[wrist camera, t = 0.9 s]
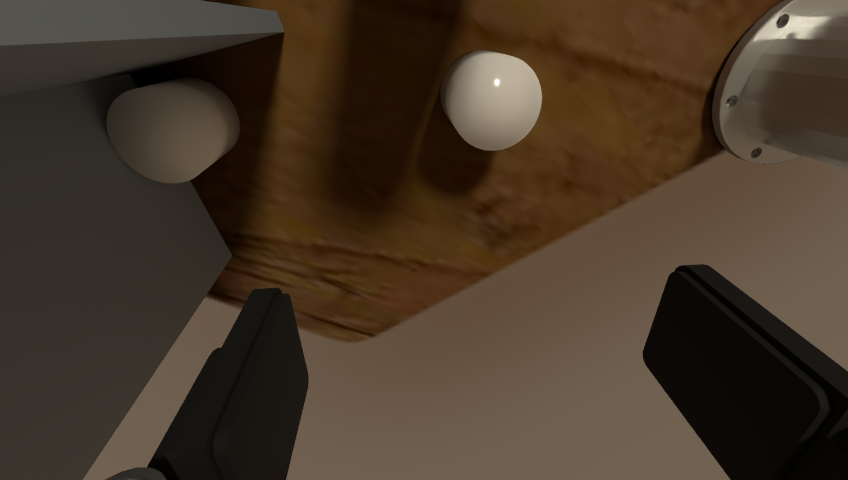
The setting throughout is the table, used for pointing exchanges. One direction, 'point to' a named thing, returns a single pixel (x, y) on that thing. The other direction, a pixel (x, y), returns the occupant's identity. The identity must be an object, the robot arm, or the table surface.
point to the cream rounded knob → (173, 128)
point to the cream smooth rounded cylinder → (491, 99)
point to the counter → (92, 222)
